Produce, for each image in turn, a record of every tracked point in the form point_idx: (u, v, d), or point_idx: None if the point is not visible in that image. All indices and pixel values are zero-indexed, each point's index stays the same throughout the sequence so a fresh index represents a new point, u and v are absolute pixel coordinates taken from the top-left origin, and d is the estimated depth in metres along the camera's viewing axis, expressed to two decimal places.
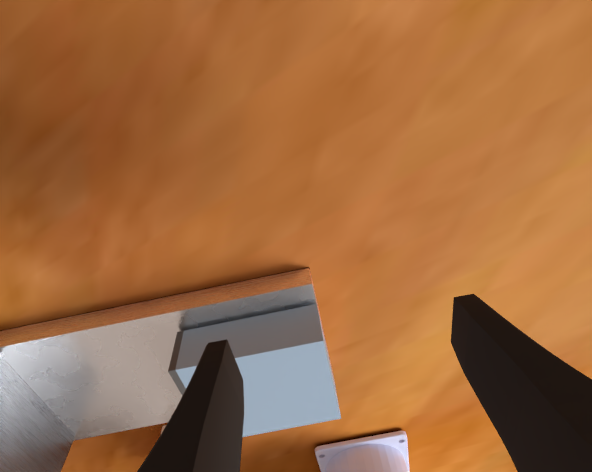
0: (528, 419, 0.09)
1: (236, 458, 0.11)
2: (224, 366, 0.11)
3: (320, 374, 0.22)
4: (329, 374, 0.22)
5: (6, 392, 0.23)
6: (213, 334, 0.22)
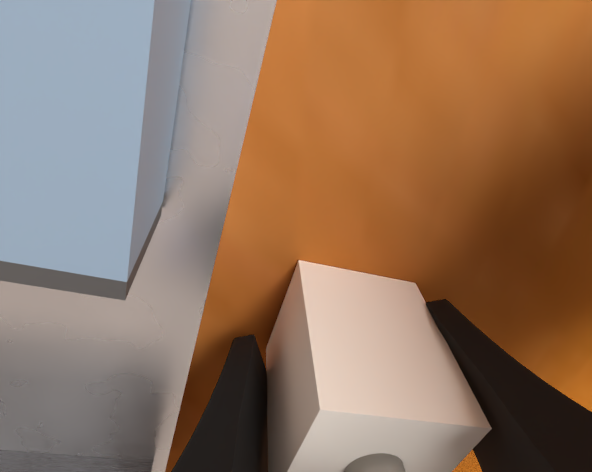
0: (491, 425, 0.09)
1: (265, 453, 0.11)
2: (253, 361, 0.11)
3: None
4: None
5: None
6: None
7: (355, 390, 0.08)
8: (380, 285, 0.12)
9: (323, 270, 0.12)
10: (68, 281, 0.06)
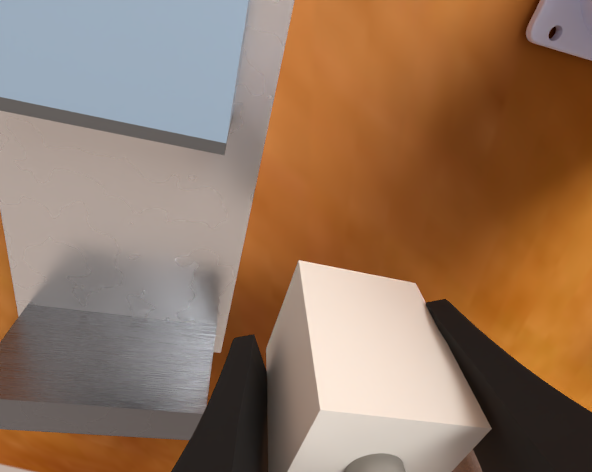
0: (491, 425, 0.09)
1: (265, 453, 0.11)
2: (253, 361, 0.11)
3: None
4: None
5: (58, 329, 0.18)
6: None
7: (355, 390, 0.08)
8: (380, 285, 0.12)
9: (323, 270, 0.12)
10: (197, 143, 0.12)
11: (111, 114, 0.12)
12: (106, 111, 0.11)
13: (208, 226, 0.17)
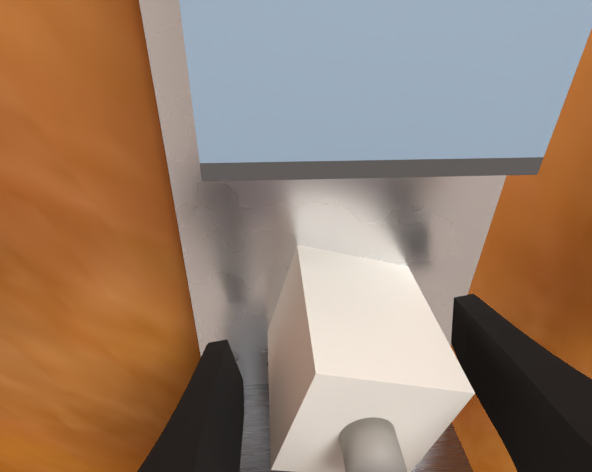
0: (528, 419, 0.09)
1: (236, 458, 0.11)
2: (224, 366, 0.11)
3: None
4: None
5: (264, 413, 0.15)
6: None
7: (348, 357, 0.09)
8: (374, 268, 0.13)
9: (320, 254, 0.13)
10: (501, 166, 0.08)
11: (388, 152, 0.08)
12: (382, 149, 0.08)
13: (432, 262, 0.14)
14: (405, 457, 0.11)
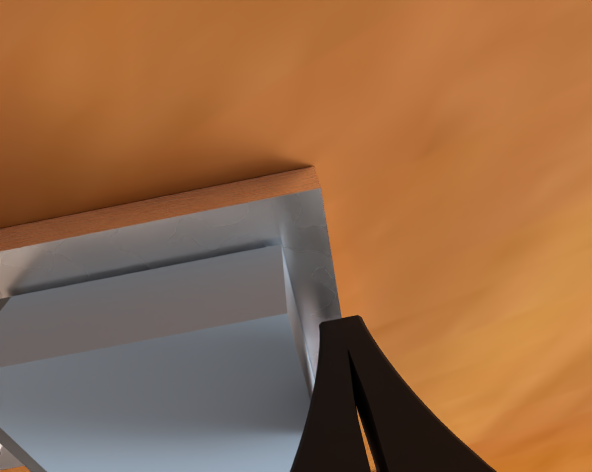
0: (376, 446, 0.09)
1: None
2: None
3: (284, 389, 0.10)
4: (304, 389, 0.10)
5: None
6: (62, 302, 0.11)
7: None
8: None
9: None
10: None
11: (41, 460, 0.11)
12: (41, 457, 0.11)
13: None
14: None
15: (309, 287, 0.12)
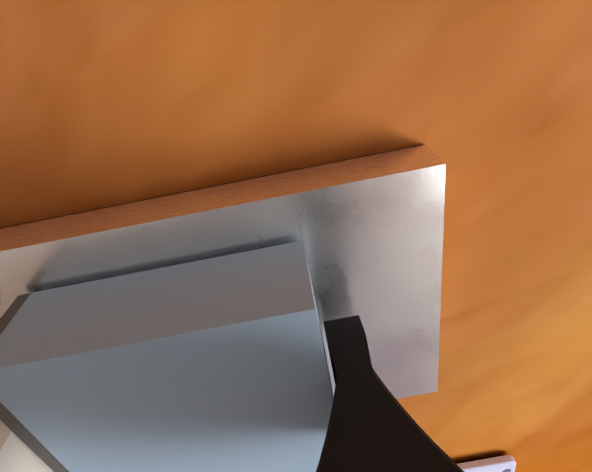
0: None
1: None
2: None
3: (308, 386, 0.10)
4: (327, 386, 0.10)
5: None
6: (84, 298, 0.11)
7: None
8: None
9: None
10: None
11: (61, 457, 0.11)
12: (61, 454, 0.11)
13: None
14: None
15: (415, 267, 0.12)
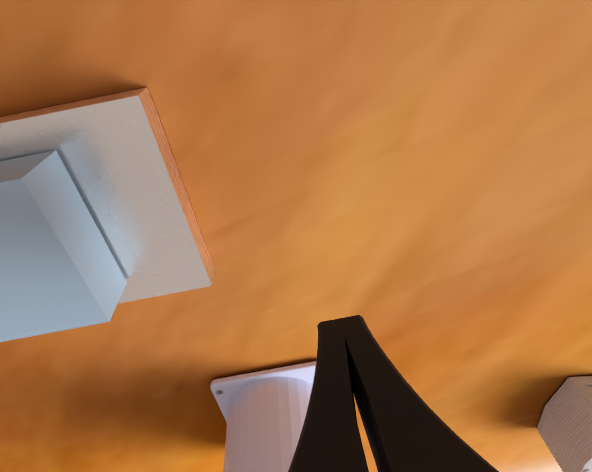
0: (377, 445, 0.09)
1: None
2: (345, 344, 0.11)
3: (44, 242, 0.15)
4: (58, 243, 0.15)
5: None
6: None
7: None
8: None
9: None
10: None
11: None
12: None
13: None
14: None
15: (149, 176, 0.17)
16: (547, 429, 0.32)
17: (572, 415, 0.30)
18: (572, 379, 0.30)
